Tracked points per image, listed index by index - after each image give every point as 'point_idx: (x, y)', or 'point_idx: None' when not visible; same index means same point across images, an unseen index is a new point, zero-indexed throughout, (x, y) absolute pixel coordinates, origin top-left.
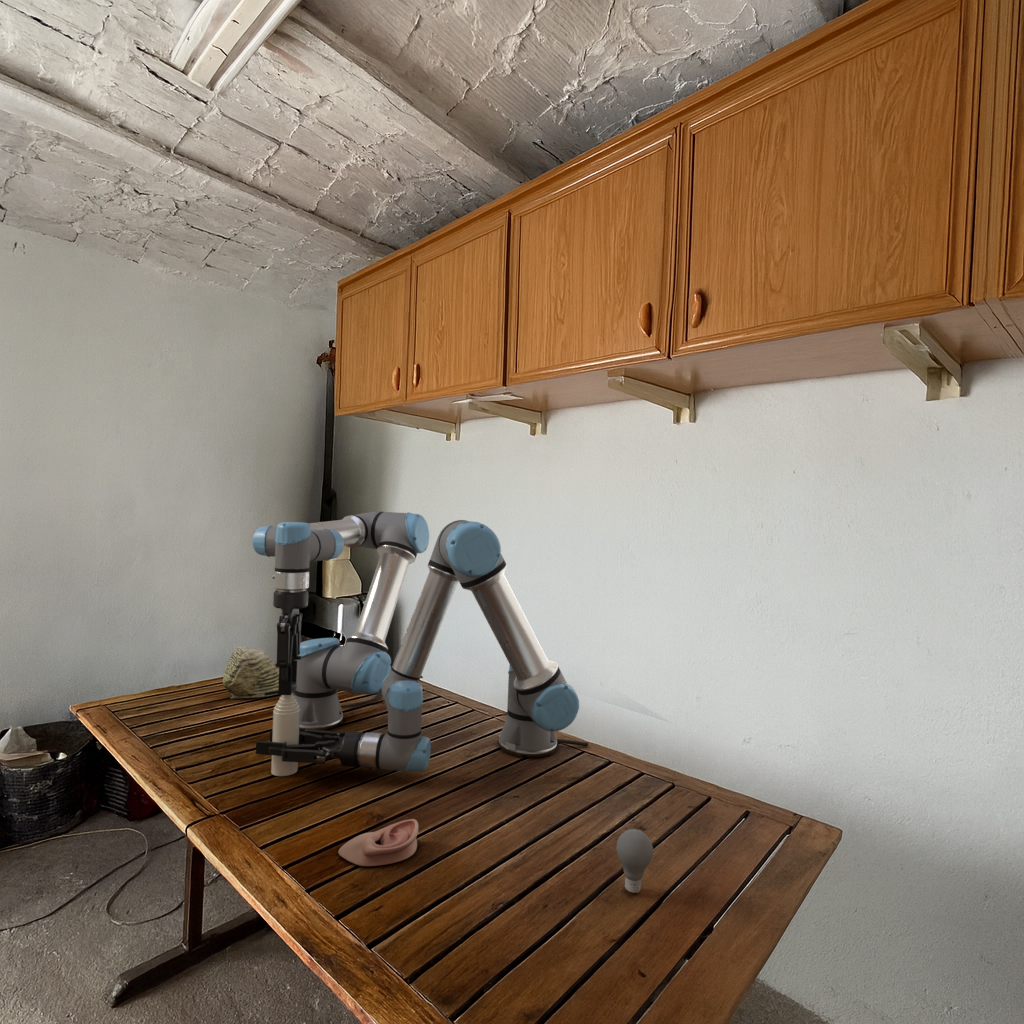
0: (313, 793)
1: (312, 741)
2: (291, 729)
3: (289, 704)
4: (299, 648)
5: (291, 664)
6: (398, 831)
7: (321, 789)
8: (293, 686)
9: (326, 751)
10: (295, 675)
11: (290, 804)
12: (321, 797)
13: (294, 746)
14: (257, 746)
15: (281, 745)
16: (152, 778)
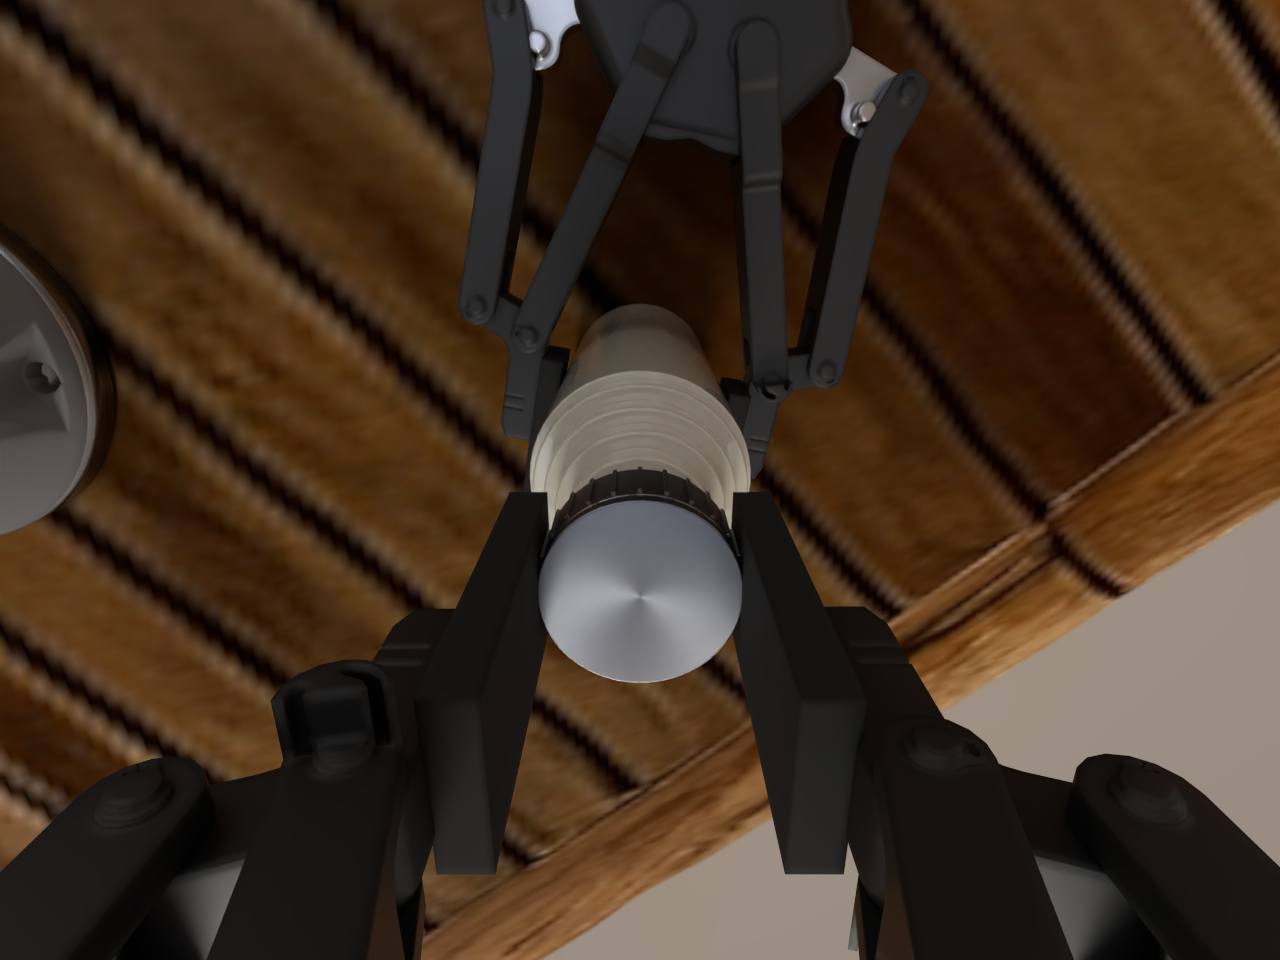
0: (914, 152)
1: (594, 240)
2: (717, 383)
3: (715, 468)
4: (42, 881)
5: (495, 733)
6: None
7: None
8: (697, 512)
9: (826, 84)
10: (523, 572)
11: (1018, 245)
12: (967, 96)
13: (781, 324)
14: None
15: (746, 411)
16: (709, 831)
